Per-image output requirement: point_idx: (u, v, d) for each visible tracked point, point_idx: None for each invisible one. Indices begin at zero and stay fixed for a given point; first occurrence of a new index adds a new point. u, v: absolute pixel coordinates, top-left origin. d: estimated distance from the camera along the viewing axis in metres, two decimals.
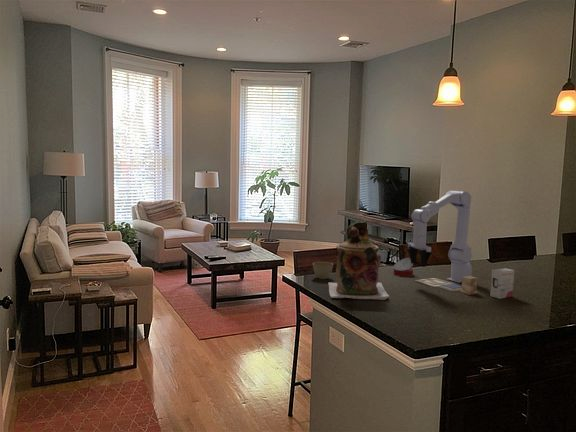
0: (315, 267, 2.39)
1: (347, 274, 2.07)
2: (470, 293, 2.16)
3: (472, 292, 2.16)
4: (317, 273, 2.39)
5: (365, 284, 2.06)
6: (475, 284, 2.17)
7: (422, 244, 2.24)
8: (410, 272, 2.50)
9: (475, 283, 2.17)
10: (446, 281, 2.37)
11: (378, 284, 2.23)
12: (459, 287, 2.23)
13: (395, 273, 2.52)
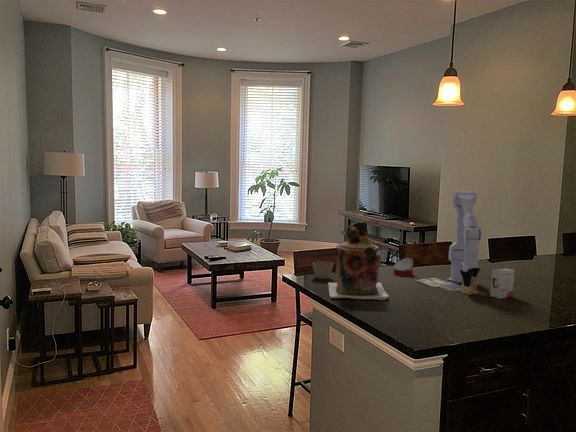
0: (315, 267, 2.39)
1: (347, 274, 2.07)
2: (470, 293, 2.16)
3: (472, 292, 2.16)
4: (317, 273, 2.39)
5: (365, 284, 2.06)
6: (475, 284, 2.17)
7: (467, 263, 2.15)
8: (410, 272, 2.50)
9: (475, 283, 2.17)
10: (446, 281, 2.37)
11: (378, 284, 2.23)
12: (459, 287, 2.23)
13: (395, 273, 2.52)
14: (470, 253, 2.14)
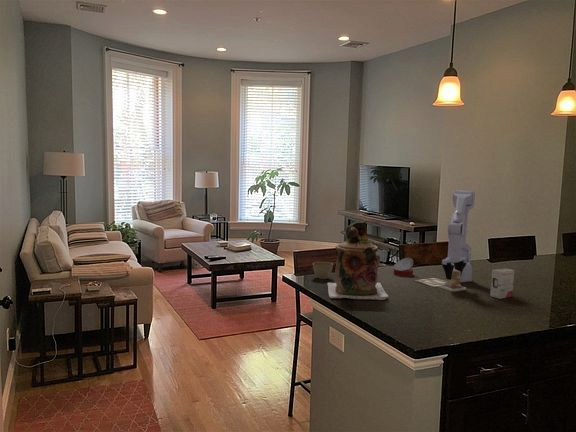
0: (315, 267, 2.39)
1: (347, 274, 2.07)
2: (451, 286, 2.23)
3: (454, 285, 2.23)
4: (317, 273, 2.39)
5: (364, 284, 2.06)
6: (458, 277, 2.23)
7: (449, 257, 2.23)
8: (410, 272, 2.50)
9: (458, 276, 2.23)
10: None
11: (377, 284, 2.23)
12: (459, 287, 2.23)
13: (395, 273, 2.52)
14: (452, 247, 2.22)
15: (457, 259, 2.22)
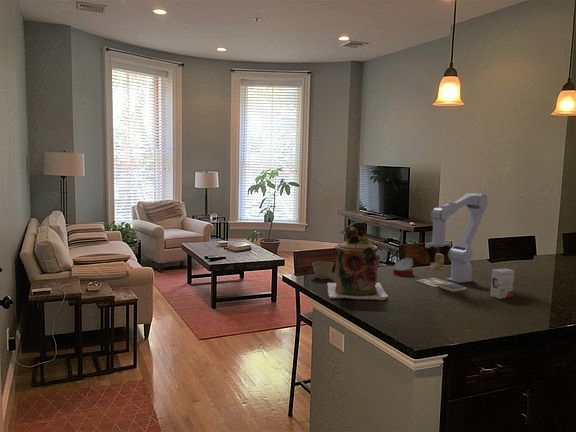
0: (315, 267, 2.39)
1: (346, 274, 2.07)
2: (435, 268, 2.31)
3: (437, 268, 2.31)
4: (317, 273, 2.39)
5: (364, 284, 2.06)
6: (441, 261, 2.31)
7: (433, 241, 2.32)
8: (410, 272, 2.50)
9: (442, 260, 2.31)
10: (446, 281, 2.37)
11: (377, 284, 2.23)
12: (459, 287, 2.23)
13: (395, 273, 2.52)
14: (433, 231, 2.32)
15: (440, 243, 2.30)
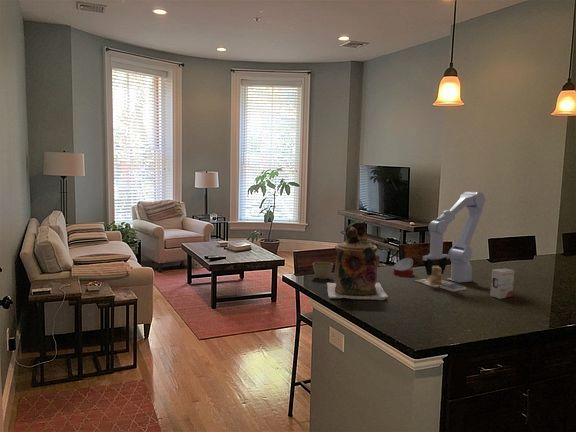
0: (315, 267, 2.39)
1: (346, 274, 2.06)
2: (432, 281, 2.33)
3: (435, 281, 2.33)
4: (317, 273, 2.39)
5: (364, 284, 2.06)
6: (439, 274, 2.33)
7: (430, 254, 2.34)
8: (410, 272, 2.50)
9: (439, 273, 2.33)
10: (446, 281, 2.37)
11: (377, 284, 2.22)
12: (459, 287, 2.23)
13: (395, 273, 2.52)
14: (430, 244, 2.34)
15: (438, 256, 2.32)
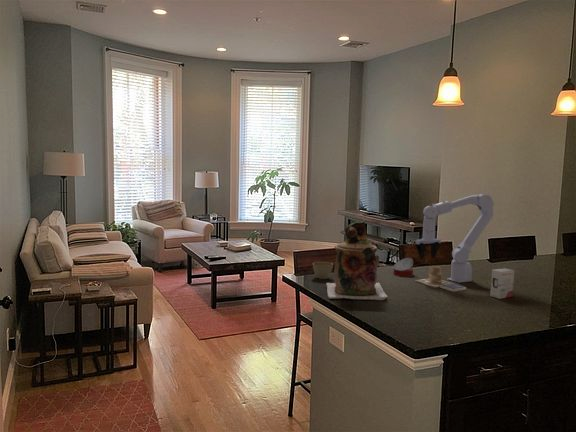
0: (315, 267, 2.39)
1: (346, 274, 2.06)
2: (432, 281, 2.33)
3: (435, 281, 2.33)
4: (317, 273, 2.39)
5: (363, 284, 2.06)
6: (439, 274, 2.33)
7: (423, 238, 2.42)
8: (410, 272, 2.50)
9: (439, 273, 2.33)
10: (446, 281, 2.37)
11: (376, 284, 2.22)
12: (459, 287, 2.23)
13: (395, 273, 2.52)
14: None
15: (430, 240, 2.40)
